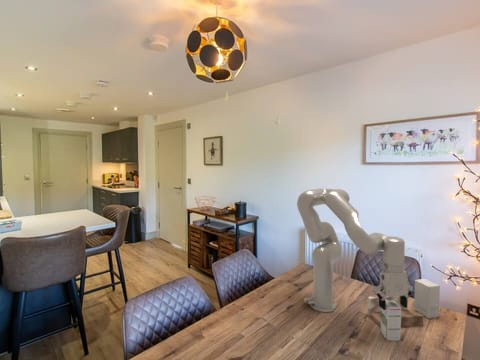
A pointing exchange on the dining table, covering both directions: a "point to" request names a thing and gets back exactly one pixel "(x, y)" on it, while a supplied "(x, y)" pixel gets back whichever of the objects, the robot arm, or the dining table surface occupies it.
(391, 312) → the syrup box
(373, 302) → the cleat board
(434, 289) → the skincare box
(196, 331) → the dining table surface
